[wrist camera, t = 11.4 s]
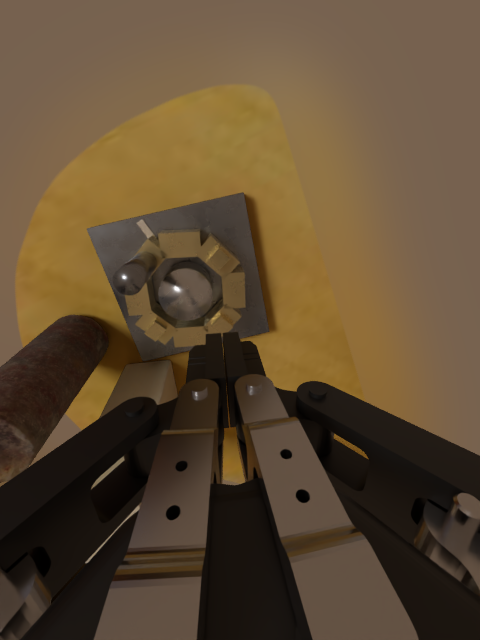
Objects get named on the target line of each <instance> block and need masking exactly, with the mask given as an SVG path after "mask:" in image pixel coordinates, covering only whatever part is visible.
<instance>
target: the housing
mask: <svg viewBox="0 0 480 640" xmlns="http://www.w3.org/2000/svg"><path fill="white" fill-rule="evenodd" d="M180 229H200V233H201V243H202V242H203V240H204V239H205V238H206V237H207V236H208V235H209V233H210V232H211V233H212V234H213V235H214V236H215V237H216V238H217V239H218V240H219V241H220V242H221V243H223V244H224V245H225V246H226V247H227V248H228V249H229V250H230V251H231V252H232V253H233V254H235V255H236V256H237V257H238V259H239V261H240V263H239V264H238V265H237V266H242V268H243V270H244V273H245V308H240V312H241V315H242V317H241V318H240V319H239V320H238V321H237V322H236V323H235V324H234V325H233V328H232V329H231V330H230V331H229V332H238V334H239V338H245V337H249V336H253V335H257V334H261V333H266V332H269V327H268V322H267V316H266V311H265V306H264V300H263V295H262V289H261V284H260V279H259V273H258V268H257V262H256V257H255V252H254V246H253V241H252V235H251V230H250V225H249V219H248V214H247V208H246V203H245V198H244V192H243V193H238V194H234V195H229V196H225V197H221V198H216V199H212V200H208V201H203V202H199V203H195V204H190V205H186V206H182V207H177V208H173V209H169V210H164V211H160V212H156V213H151V214H147V215H143V216H138V217H134V218H130V219H125V220H121V221H117V222H112V223H108V224H104V225H99V226H95V227H91V228H88V229H87V231H88V233H89V235H90V238H91V240H92V242H93V245H94V247H95V250H96V252H97V254H98V257H99V259H100V261H101V264H102V266H103V268H104V271H105V273H106V276H107V278H108V280H109V283H110V285H111V287H112V290H113V292H114V294H115V297H116V299H117V302H118V304H119V306H120V309H121V311H122V313H123V316H124V318H125V320H126V323H127V325H128V328H129V330H130V332H131V335H132V337H133V339H134V342H135V344H136V346H137V349H138V351H139V354H140V356H141V358H142V361H147V360H152V359H156V358H160V357H164V356H169V355H173V354H177V353H181V352H185V351H190V350H191V349H192V348H193V347H194V346H187V347H175V345H174V338H173V337H172V338H171V339H170V340H169V341H168V342H167V343H166V344H165V345H164V344H163V343H161V342H160V341H159V340H157V341H156V342H155V341H154V340H153V339H151V338H150V337H148V336H147V335H145V334H144V333H145V331H144V330H142V329H141V328H140V327H138V326H137V325H135V324H136V322H137V320H138V318H139V316H140V315H133V316H129V313H128V309H127V304H126V299H125V295H124V294H121V293H120V292H118V291H117V290H116V288H115V287H114V285H113V275H114V273H115V272H116V271H117V270H118V269H120V268H121V267H122V266H123V265H124V264H126V263H127V262H128V261H129V260H130V259H132V258H133V257H134V255H135V254H136V253H137V252H138V250H139V249H140V248H141V247H142V245H143V244H144V243H145V241H146V240H147V239H148V238H149V237H151V236H152V235H153V236H154V237H155V238H157V239H158V240H159V237H158V233H159V232H161V231H162V230H180ZM151 277H152V283H153V289H154V295H155V301H156V303H158V304H159V305H160V306H162V308H163V309H164V311H165V312H166V313H167V314H169V315H170V316H172V317H173V318H176V319H179V320H184V321H189V320H194V319H197V318H199V317H204V316H206V315H207V314H208V312H209V311H210V310H211V309H212V308H213V307H214V306H215V305H216V304H217V303H218V302H219V301H220V300H221V298H222V283H221V276H220V275H219V274H218V273H216V272H215V271H214V270H213V269H212V268H211V267H209V266H208V265H207V264H206V263H205V262H204V261H202V260H201V259H200V258H199V257H182V258H165V260H164V261H163V262H162V263H161V265H160V266H159V267H158V268H157V269H156V271H155V272H154V273H153V274H152V275H151ZM222 343H223V336H222Z"/></svg>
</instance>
